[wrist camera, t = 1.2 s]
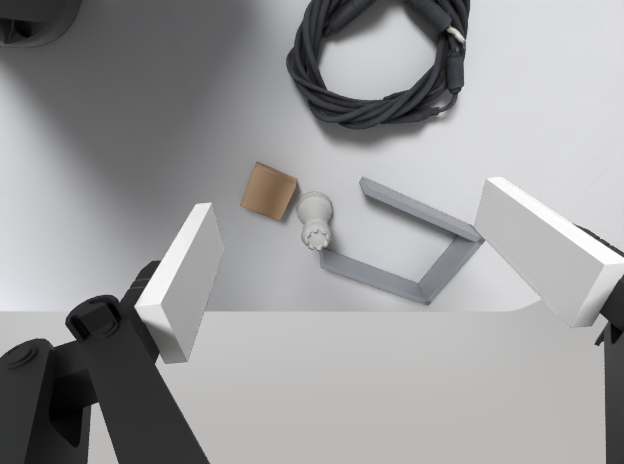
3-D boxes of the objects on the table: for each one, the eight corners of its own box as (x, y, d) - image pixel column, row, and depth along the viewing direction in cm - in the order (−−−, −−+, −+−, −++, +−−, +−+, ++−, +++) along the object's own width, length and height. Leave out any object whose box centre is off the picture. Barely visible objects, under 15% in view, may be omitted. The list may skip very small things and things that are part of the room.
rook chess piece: (314, 182, 37) (317, 213, 30) (339, 206, 39) (347, 240, 32) (289, 206, 38) (286, 241, 31) (313, 228, 40) (316, 265, 33)
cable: (291, 124, 34) (290, 134, 30) (279, -44, 26) (276, -59, 23) (446, 117, 34) (464, 126, 30) (477, -52, 27) (506, -68, 23)
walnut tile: (243, 196, 38) (239, 205, 36) (257, 160, 36) (254, 168, 33) (280, 211, 39) (279, 220, 37) (296, 177, 37) (296, 185, 35)
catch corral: (319, 252, 42) (320, 267, 39) (362, 176, 37) (368, 187, 34) (419, 288, 46) (428, 305, 43) (472, 225, 41) (485, 239, 38)
